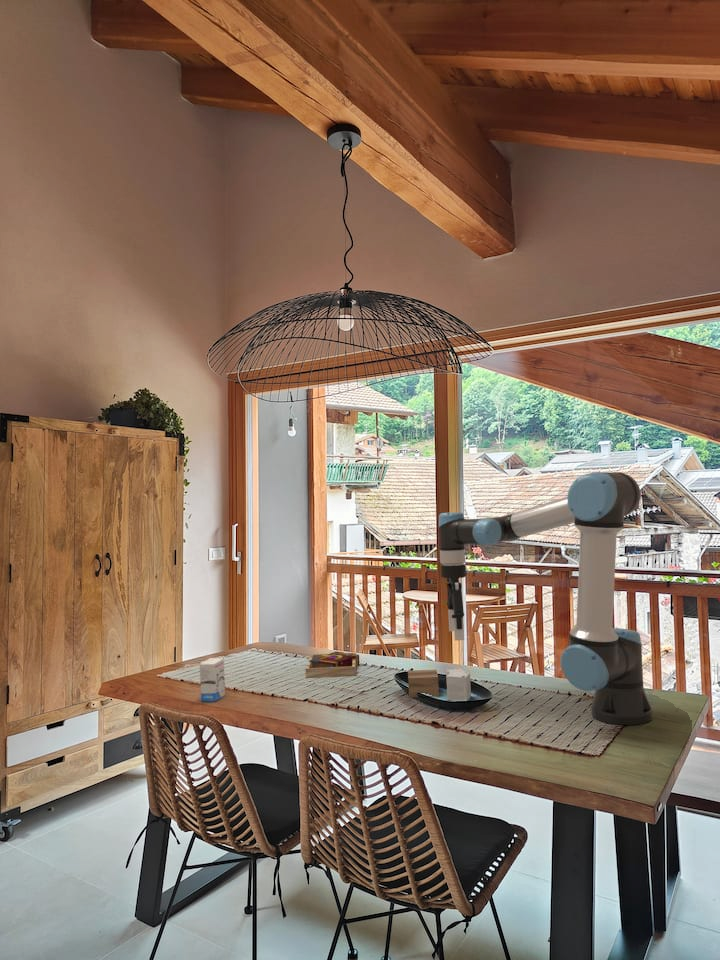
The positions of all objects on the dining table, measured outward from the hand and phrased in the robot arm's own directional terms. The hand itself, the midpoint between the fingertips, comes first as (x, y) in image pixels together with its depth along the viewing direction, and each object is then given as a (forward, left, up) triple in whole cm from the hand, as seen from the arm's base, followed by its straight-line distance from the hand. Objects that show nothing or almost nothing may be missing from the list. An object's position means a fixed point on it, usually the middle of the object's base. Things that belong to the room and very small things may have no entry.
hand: (456, 635), depth 206 cm
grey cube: (+13, -1, -19) cm, 23 cm away
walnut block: (+8, +10, -19) cm, 23 cm away
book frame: (+43, +40, -19) cm, 62 cm away
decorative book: (+43, +39, -19) cm, 61 cm away
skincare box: (0, 0, -19) cm, 19 cm away
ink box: (+12, +76, -19) cm, 79 cm away
